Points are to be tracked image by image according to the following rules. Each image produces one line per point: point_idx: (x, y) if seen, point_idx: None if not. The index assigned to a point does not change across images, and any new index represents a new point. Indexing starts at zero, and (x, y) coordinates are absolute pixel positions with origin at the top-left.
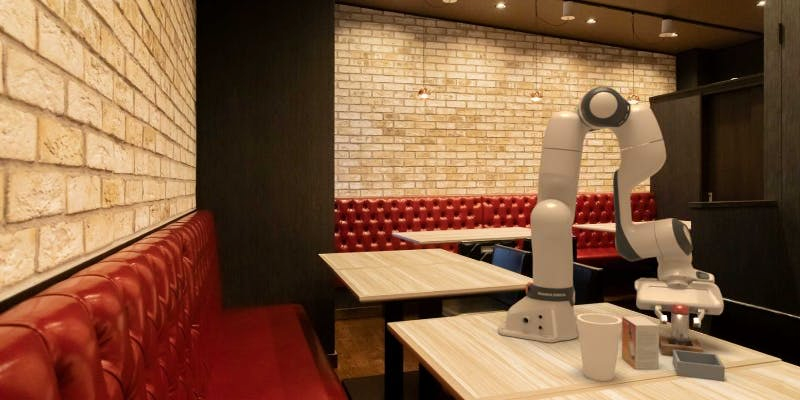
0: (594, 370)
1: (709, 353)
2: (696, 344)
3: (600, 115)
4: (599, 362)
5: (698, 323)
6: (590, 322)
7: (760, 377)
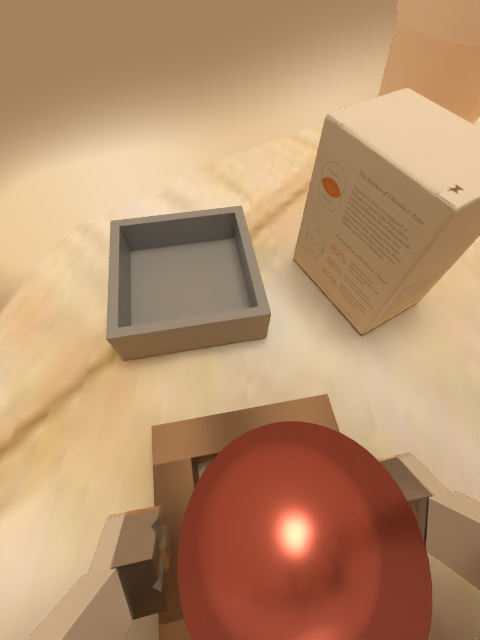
0: None
1: (133, 333)
2: (174, 512)
3: None
4: None
5: (127, 513)
6: None
7: (4, 328)
